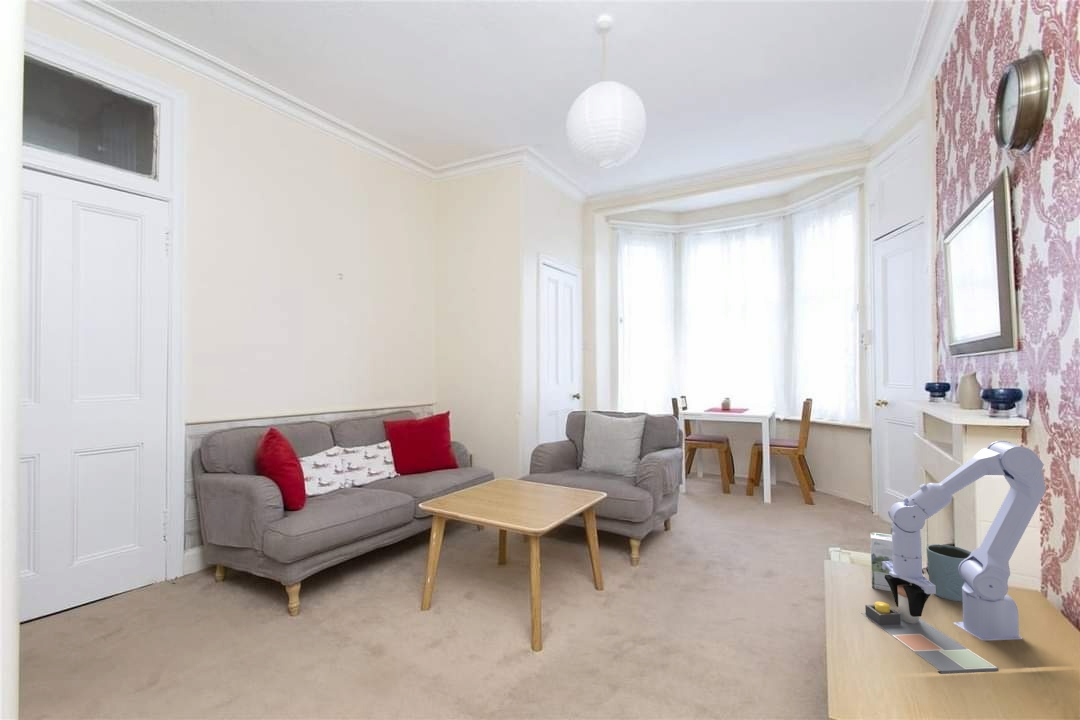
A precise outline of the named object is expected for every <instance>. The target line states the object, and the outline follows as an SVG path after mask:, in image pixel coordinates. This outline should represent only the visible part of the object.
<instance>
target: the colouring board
mask: <svg viewBox="0 0 1080 720" xmlns="http://www.w3.org/2000/svg"><path fill="white" fill-rule="evenodd" d="M860 614H861V615H863V616H864V617H865V618H867V619H868V620H870V621H871V622H872V623H874V624H875V625H876V626H878V627H879V628H880V629H882V630H883V631H885V632H886V633H887V634H889V635H890V636H891V637H892V638H894V639H895V640H897V641H899V642H900V643H901V644H902V645H904V646H905V647H907V648H908V649H909V650H911V651H912V652H913V653H915V654H917V656H918V657H920V658H921V659H923V660H924V661H925V662H927V663H928V664H930V665H931V666H932V667H934V668H935V669H937V670H938V671H937V673H939V674H940V675H944V674H945V675H946V674H947V675H950V674H968V673H969V674H970V673H972V674H973V673H990V672H991V673H992V672H999V667H997V666H995V665H994V664H992V663H991V662H989V661H987V660H986V659H985V658H983V657H981V656H979V655H978V654H977V653H975V652H974V651H972V650H970V649H969V648H967V647H966V646H964V645H962V644H961V643H959V642H958V641H956V640H954V639H953V638H952V637H950V636H948V635H947V634H945V633H944V632H942V631H940V630H939V629H937V628H935V627H934V626H932V625H931V624H929V623H928V622H926V621H925V620H923V619H922V618H921V617H919V623H917V624H911V623H907V622H904V621H902V620H901V624H898V625H879V624H878V623H876V622H875V621H873V620H872V619H871V618H869V617H868V616H867V615H866V612H861V613H860Z"/></svg>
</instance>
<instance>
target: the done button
mask: <svg viewBox="0 0 1080 720" xmlns="http://www.w3.org/2000/svg"><path fill="white" fill-rule="evenodd" d="M874 605H875V610H876V611H878V612H879V613H890V608H891V605H890V604H889V603H887V602H883V601H875V602H874Z"/></svg>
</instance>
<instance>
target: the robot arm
mask: <svg viewBox="0 0 1080 720" xmlns="http://www.w3.org/2000/svg"><path fill="white" fill-rule="evenodd" d="M1044 465H1045V464H1044V463H1043V461H1042V460H1041V459H1040V457H1039V456H1038V455H1037V453H1035V451H1033V450H1032V449H1030V448H1028V447H1026V446H1020V445H1017V444H1014V443H1012V442H1010V441H1007V440H1006V441H1005V440H996V441H993V442H991V443H990V444H989V445H988V446H987V447H983V448H982V449H980V450H979V451H977V452H976V453H975V454H974V455H973V456H972V457H971V458H970V459H968V460H967V461H966V462H964V463H963V464H962V465H961V466H959V467H958V468H957V469H956V470H954V471H953V472H951V474H949V475H947V477H945V478H944V479H943V480H941V481H940V482H928V483H927V484H925V483H922V484H920V485H919V486H918V488H919V489H918V490H917V491H916V492H914V493H913V494H911V495H909V497H906V496H904V498H902V501H898V502H895V503H893V504H892V505H891V506H890V508H889V511H888V512H887V513H888V517H889V519H890V520H891V521H892V525H891V526H892V530H893V532H892V552H893V562H891V561H882V569H884V570H888V571H890V572H889V575H885V579H886V581H887V582H888V584H889V586H890V588H891V591H890V592H891V593H892V597H893V600H894V604H895V606H896V607H897V608H898V592H897V586H898V585H900V584H905V585H909V586H903V588H904V590H905V592H906V595H907V598H908V603H909V611H910V615H911V616H913V617H919V618H921V617H922V614H923V611H924V607H925V605H926V602H927V600H928V599H929V598H930V596H931V595H935V594H936V585H934V584H932V583H931V582H930V581H929V578H927V577H926V575H924V574H923V557H922V555H923V554H922V553H923V551H922V536H921V530H923V528H924V527H925V523H926V520H928V519H930V518H931V517H933V516H934V515H935V514H937V513H938V512H941V511H942V510H943V509H944V508H946V507H948V506H949V505H950V504H952V500H953V495H954V494H957V493H958V492H959V491H961V490H962V489H964V488H966V487H968V486H969V485H971V484H972V483H974V482H976V481H978V480H979V479H981V478H983V477H984V476H1003V477H1004V479H1005V480H1006V482H1007V483H1008V484H1009V487H1010V488H1009V489H1008V492H1007V494H1006V495H1005V497H1004V500H1003V501H1002V503H1001V505H1000V507H999V509H998V511H997V513H996V514H995V517H994V519H993V520H992V523H991V525H990V526H989V528H988V530H987V531H986V534H985V537H984V538H983V540H982V542H981V544H980V546H979V547H977V548H975V549H972V551H970V552H971V554H970V555H969V557H967V558H966V559H964V560H963V561H961V563H960V564H959V567H958V571H959V574H960V576H961V577H962V578H963V579H964V580H965V583H964V585H963V587H962V597H963V602H962V621H955V622H952V623H953V624H954V625H955V626H958V627H959V628H961V629H963V630H964V631H966V632H967V633H969V634H971V635H972V636H974V637H976V638H977V639H979V640H980V641H1003V640H1004V641H1005V640H1008V641H1009V640H1023V637H1022V636H1020V626H1019V623H1020V621H1019V609H1018V605H1017V603H1016V602H1015V600H1014V599H1013V598H1012V597H1011V596H1010V595H1009V594H1008V592H1009V584H1008V582H1009V578H1010V576H1011V570H1010V564H1009V562H1010V560H1011V558H1012V555H1013V554H1014V552H1015V550H1016V548H1017V546H1018V544H1019V543H1020V541H1021V539H1022V537H1023V535H1024V533H1025V531H1026V529H1027V528H1028V525H1029V524H1030V522H1031V520H1032V518H1033V517H1034V514H1035V512H1036V510H1037V508H1038V506H1039V505H1040V503H1041V500H1042V499H1043V498H1044V495H1045V493H1046V484H1045V479H1044V473H1043V467H1044Z"/></svg>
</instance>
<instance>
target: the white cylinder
mask: <svg viewBox="0 0 1080 720" xmlns="http://www.w3.org/2000/svg"><path fill="white" fill-rule="evenodd" d="M903 586H909V585H905V584H900V585H898V586H897V592H898V607H897V608H898V610H897V612H898V613H899V614H900V619H901V620H902V621H904V622H907V623H911V624H917V623H919V618H920V617H913V616H911V615H910V611H909V603H908V598H907V595H906V592H905V590H904V588H903Z"/></svg>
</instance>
